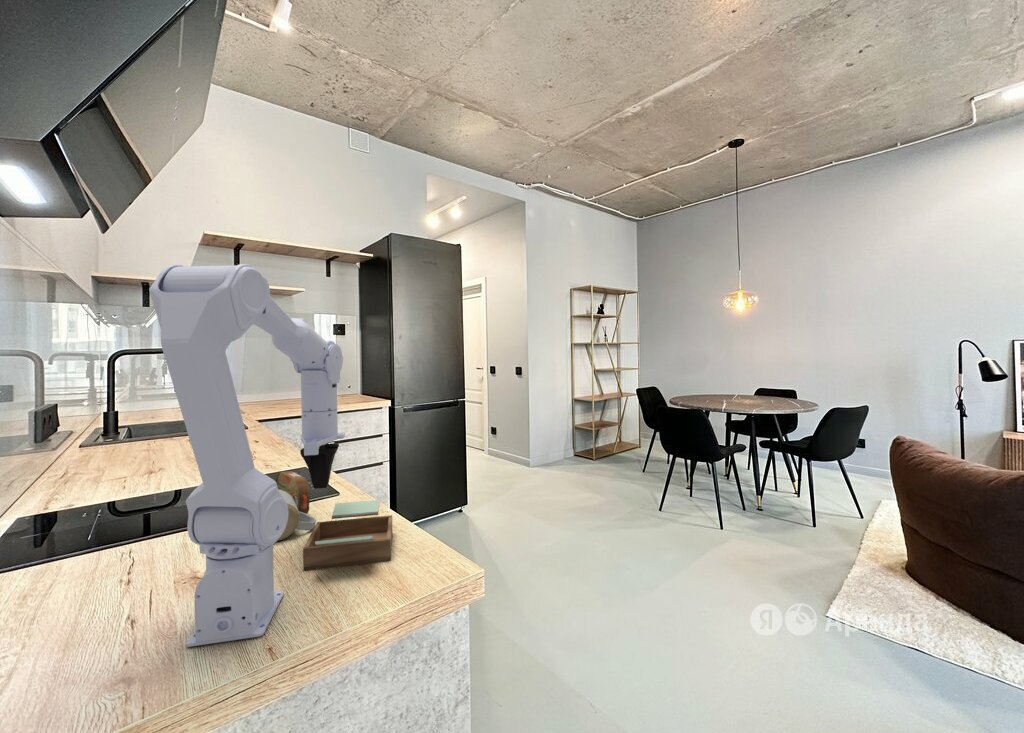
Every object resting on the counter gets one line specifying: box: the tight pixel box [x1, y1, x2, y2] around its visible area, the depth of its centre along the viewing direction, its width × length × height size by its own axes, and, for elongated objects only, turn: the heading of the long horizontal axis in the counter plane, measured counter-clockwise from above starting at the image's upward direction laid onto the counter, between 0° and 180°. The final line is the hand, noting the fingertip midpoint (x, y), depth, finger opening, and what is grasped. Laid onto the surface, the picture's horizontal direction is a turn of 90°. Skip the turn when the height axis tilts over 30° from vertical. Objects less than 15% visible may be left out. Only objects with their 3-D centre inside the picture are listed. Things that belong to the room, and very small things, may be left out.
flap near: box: [315, 536, 374, 545], centre depth 66 cm, size 8×4×1 cm, turn 104°
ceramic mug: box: [276, 490, 317, 542], centre depth 80 cm, size 11×8×8 cm
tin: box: [274, 470, 311, 515], centre depth 91 cm, size 15×3×8 cm, turn 44°
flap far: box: [331, 499, 381, 520], centre depth 80 cm, size 8×4×1 cm, turn 104°
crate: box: [302, 515, 393, 572], centre depth 73 cm, size 11×13×3 cm
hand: (320, 487), depth 75 cm, fingers closed
